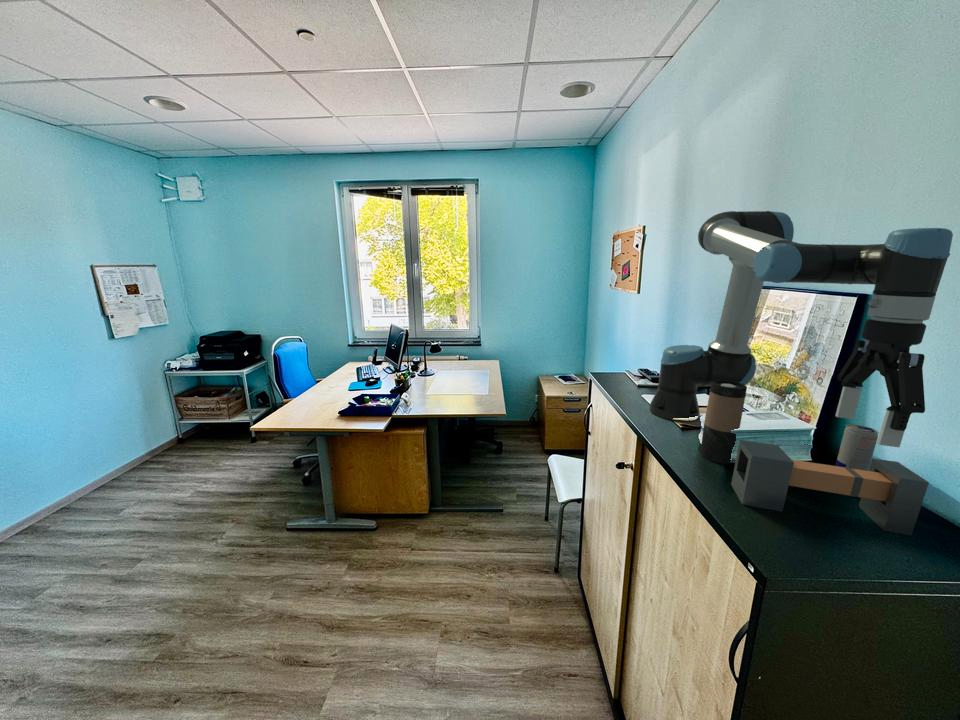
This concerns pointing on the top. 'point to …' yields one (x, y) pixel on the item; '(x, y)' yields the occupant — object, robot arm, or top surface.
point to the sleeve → (761, 475)
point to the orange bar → (840, 480)
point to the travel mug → (722, 420)
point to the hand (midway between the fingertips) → (864, 430)
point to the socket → (896, 498)
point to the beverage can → (857, 447)
